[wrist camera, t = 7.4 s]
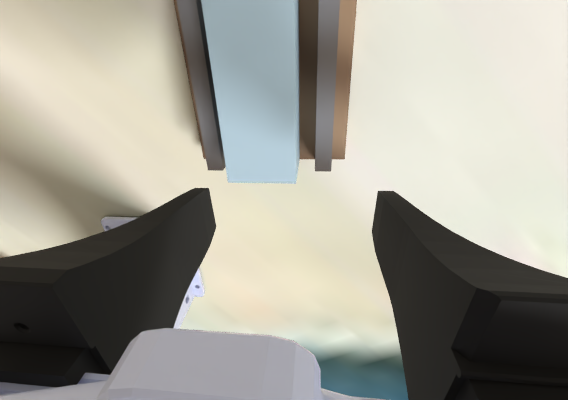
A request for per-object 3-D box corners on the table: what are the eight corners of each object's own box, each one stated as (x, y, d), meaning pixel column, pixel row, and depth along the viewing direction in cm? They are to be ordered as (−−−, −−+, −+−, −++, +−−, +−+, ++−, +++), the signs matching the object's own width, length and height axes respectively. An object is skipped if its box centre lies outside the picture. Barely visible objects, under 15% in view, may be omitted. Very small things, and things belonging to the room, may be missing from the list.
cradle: (343, 152, 20) (347, 171, 18) (209, 152, 21) (193, 170, 19) (359, -71, 14) (369, -95, 12) (172, -56, 15) (141, -76, 13)
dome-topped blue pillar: (299, 157, 20) (295, 183, 16) (243, 156, 20) (228, 182, 17) (298, -77, 14) (292, -114, 10) (217, -71, 14) (185, -104, 11)
